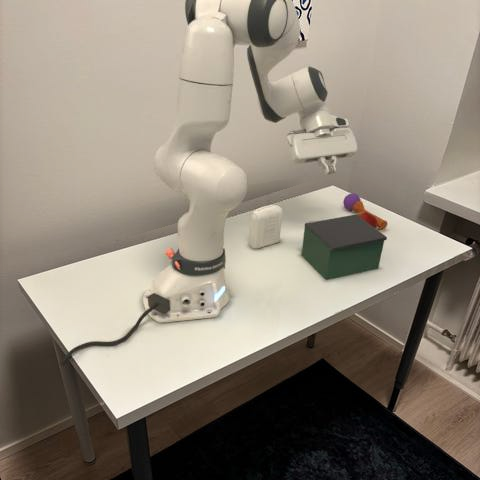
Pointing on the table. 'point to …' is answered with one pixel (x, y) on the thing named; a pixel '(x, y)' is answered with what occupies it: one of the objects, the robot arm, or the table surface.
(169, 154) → the robot arm
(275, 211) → the photo printer
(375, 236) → the bin lid
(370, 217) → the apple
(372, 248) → the bin
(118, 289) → the table surface
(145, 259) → the table surface
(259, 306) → the table surface
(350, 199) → the kendama
